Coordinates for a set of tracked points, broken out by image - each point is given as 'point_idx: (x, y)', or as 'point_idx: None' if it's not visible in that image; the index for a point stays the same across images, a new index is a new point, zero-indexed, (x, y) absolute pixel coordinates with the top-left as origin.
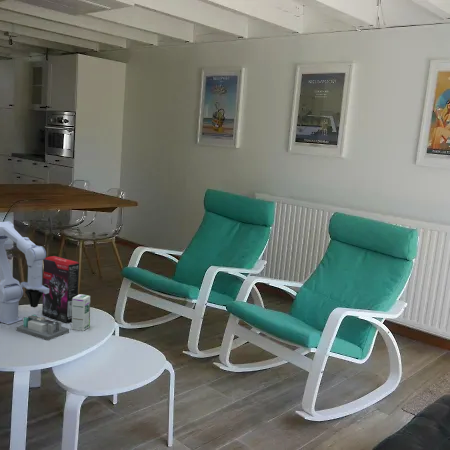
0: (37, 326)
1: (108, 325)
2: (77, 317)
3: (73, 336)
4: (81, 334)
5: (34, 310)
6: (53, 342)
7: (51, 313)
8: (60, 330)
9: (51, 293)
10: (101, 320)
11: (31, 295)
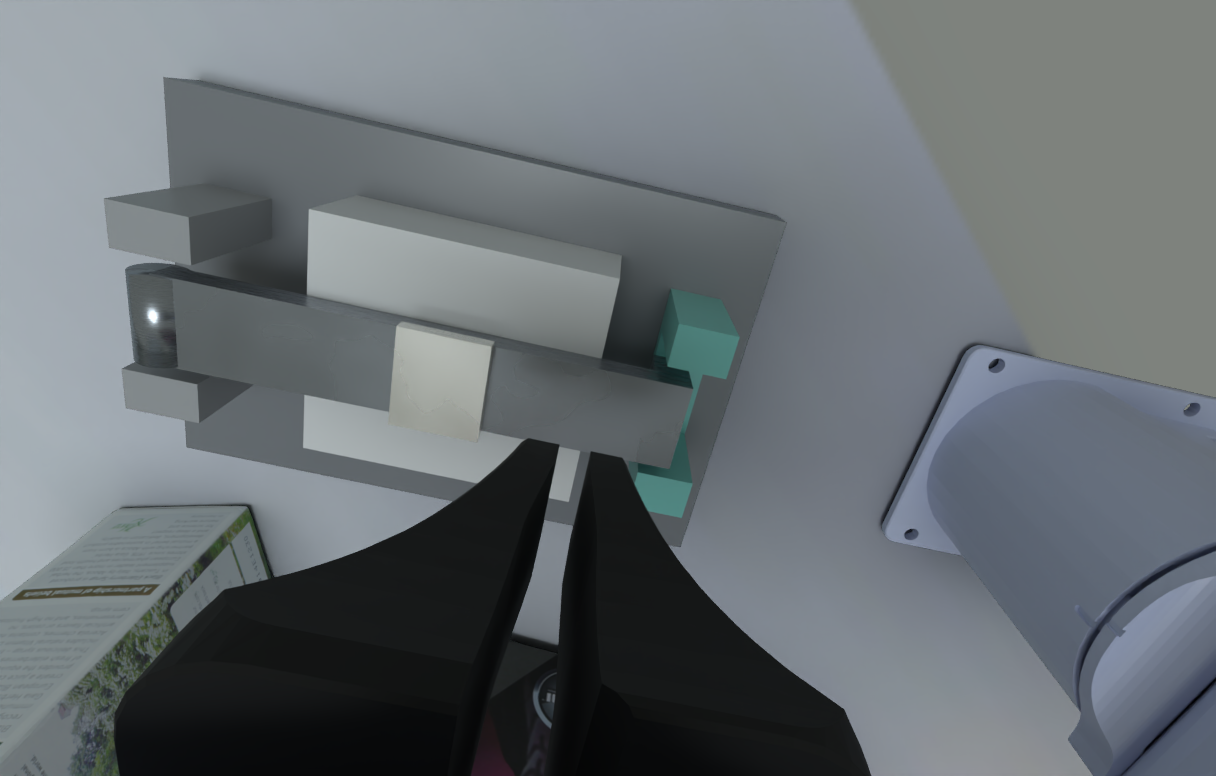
0: (423, 225)
1: None
2: (72, 607)
3: (74, 337)
4: (60, 422)
5: (900, 767)
6: (90, 46)
7: None
8: None
9: None
10: None
11: (487, 604)
